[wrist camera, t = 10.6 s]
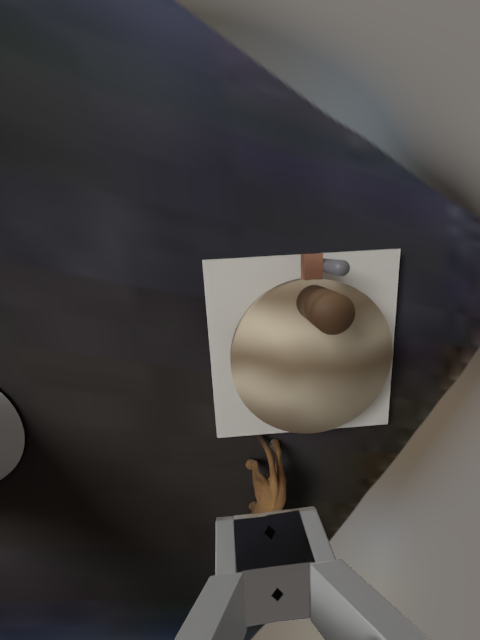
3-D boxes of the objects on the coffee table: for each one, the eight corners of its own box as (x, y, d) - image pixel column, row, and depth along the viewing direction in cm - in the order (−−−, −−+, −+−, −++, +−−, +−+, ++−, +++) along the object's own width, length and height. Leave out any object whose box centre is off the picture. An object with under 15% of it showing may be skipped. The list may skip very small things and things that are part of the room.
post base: (217, 429, 33) (215, 480, 26) (203, 259, 29) (196, 263, 22) (380, 416, 34) (423, 462, 27) (391, 248, 30) (446, 248, 22)
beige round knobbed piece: (224, 257, 26) (224, 260, 19) (391, 249, 26) (444, 249, 20) (234, 429, 30) (236, 478, 23) (378, 419, 30) (419, 464, 24)
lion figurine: (294, 523, 37) (315, 607, 28) (252, 531, 37) (261, 618, 28) (276, 422, 34) (295, 483, 25) (231, 431, 34) (233, 495, 25)
